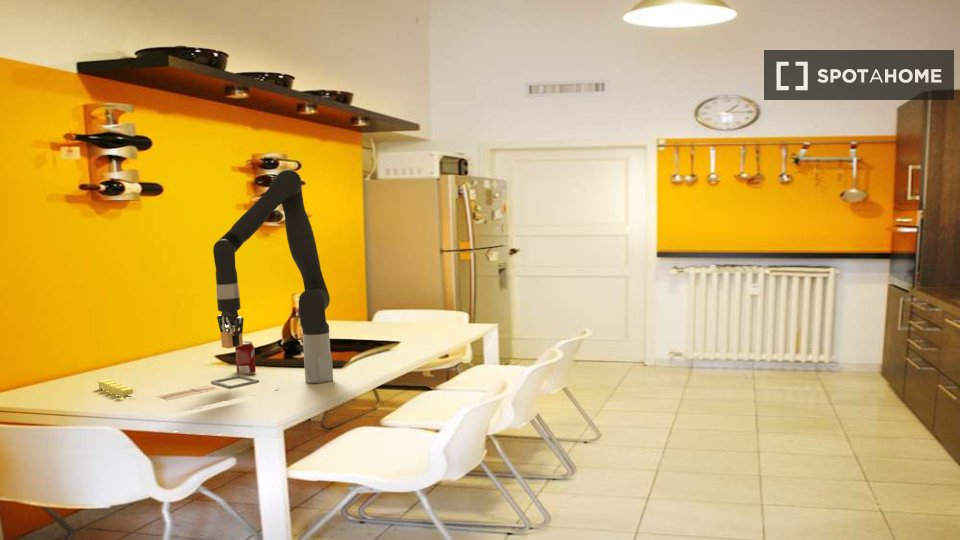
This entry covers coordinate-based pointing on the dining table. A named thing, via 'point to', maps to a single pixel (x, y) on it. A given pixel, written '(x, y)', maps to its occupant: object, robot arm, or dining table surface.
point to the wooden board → (187, 392)
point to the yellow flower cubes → (115, 388)
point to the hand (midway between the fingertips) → (232, 345)
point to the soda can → (245, 358)
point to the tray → (236, 384)
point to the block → (229, 340)
